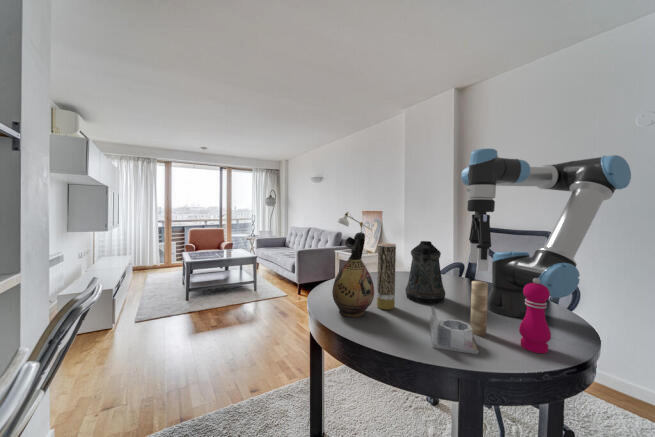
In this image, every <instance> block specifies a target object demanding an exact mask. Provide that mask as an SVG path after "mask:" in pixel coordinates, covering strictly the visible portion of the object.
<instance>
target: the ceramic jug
mask: <svg viewBox="0 0 655 437" xmlns="http://www.w3.org/2000/svg"><path fill="white" fill-rule="evenodd" d="M365 241H366V235H365V233H364V232H362V231H360V232H356V233H355V235H354V238H352V237H351V236H350V237H349V236H348V237H347V238H346V240H345V241H344V245H345V246H346V247H347V248H348V249H350V250H351V254H350V256H349V257H348V259H347V260H346V261H345V263H344V264H343V266H342V267H341V268H340V270H339V271H338V273H337V275H336V277H335V279H334V281H333V284H332V285H333V286H332V290H331V291H332V292H331V295H332V299H333V301H334V303H335V306H336V307H337V308H338V313H339V314H340V315H342V316H343V317H352V318H357V317H362V316H364V314H365V312H366V311H367V309H368V308H369V307H370V306H371V304H372V303H373V300H374V296H375V287H374V282H373V278H372V276H371V275H370V272H369V270H368V268H367V267H366V265H365V263H364V261H363V260H362V258H363V252H364V247H365Z"/></svg>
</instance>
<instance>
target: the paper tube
mask: <svg viewBox="0 0 655 437" xmlns="http://www.w3.org/2000/svg"><path fill="white" fill-rule="evenodd" d="M377 245H378V246H377V278H376V279H377V282H376V283H377V284H376V287H377V288H376V290H377V292H376V297H377V298H376V305H377V306H376V307H377V308H379V309H381V310H386V311H387V310H388V311H390V310H393V309H394V308H395V305H396V304H395V302H396V301H395V298H396V297H395V296H396V262H397V261H396V260H397V258H396V256H397V254H396V253H397V249H396V248H397V244H395V243H387V242H386V243H385V242H381V243H378V244H377Z"/></svg>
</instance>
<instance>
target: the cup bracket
mask: <svg viewBox="0 0 655 437" xmlns="http://www.w3.org/2000/svg"><path fill="white" fill-rule="evenodd" d="M429 319H430V320H429V321H430V322H429V323H430V324H429V331H430V332H429V333H430V338H431V339H430V340H431V345H432V348H433V349H439V350H445V351H451V352H459V353H466V354H471V355H472V354H473V355H479V353H480V352H479V349H478V347H477V345H476V342H475V341H474V338H473V334H472V333H473V329H472V327H471V325H470V323H467V322H465V321H463V320H460V319H452V318H451V319H450V318H445V319H441V320H438V316H437V313H436V309H435V306H434V305H430V318H429Z"/></svg>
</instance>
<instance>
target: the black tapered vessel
mask: <svg viewBox="0 0 655 437" xmlns="http://www.w3.org/2000/svg"><path fill="white" fill-rule="evenodd" d="M441 254H442V253H441V251H440V250H439V249H438V248H437V247H436V246H435V245H433V244H432V241H431V240H430V241H427V240H421V241H420V242H419V244H417V245H416V246H415V247H414V248H412V249H411V250H410V255H411V258H412V259H411V263H410V268H409V275H408V276H409V277H408V282H407V285H406V286H405V288H404V289H405V294H406V299H407V300H409V301H412V302H414V303H417V304H418V303H419V304H424V305H438V304H443V303H444V301H445V298H446V291H445V288H444V284H443V278H442V273H441V265H440V258H441Z"/></svg>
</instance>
